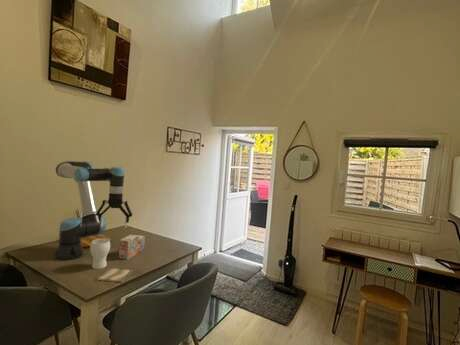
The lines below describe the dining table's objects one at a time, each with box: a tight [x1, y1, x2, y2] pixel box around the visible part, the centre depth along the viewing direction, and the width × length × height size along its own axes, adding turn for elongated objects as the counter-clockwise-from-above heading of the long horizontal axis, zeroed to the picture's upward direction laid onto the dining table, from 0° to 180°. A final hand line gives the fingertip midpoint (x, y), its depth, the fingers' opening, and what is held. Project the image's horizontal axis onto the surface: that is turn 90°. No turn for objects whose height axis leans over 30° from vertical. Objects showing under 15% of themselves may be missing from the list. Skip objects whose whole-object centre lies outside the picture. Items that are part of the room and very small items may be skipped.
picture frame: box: [94, 267, 134, 283], centre depth 139 cm, size 14×14×1 cm
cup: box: [89, 238, 111, 270], centre depth 148 cm, size 11×11×15 cm
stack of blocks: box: [118, 234, 146, 260], centre depth 171 cm, size 21×6×12 cm, turn 169°
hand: (113, 227), depth 153 cm, fingers open, 13 cm apart
